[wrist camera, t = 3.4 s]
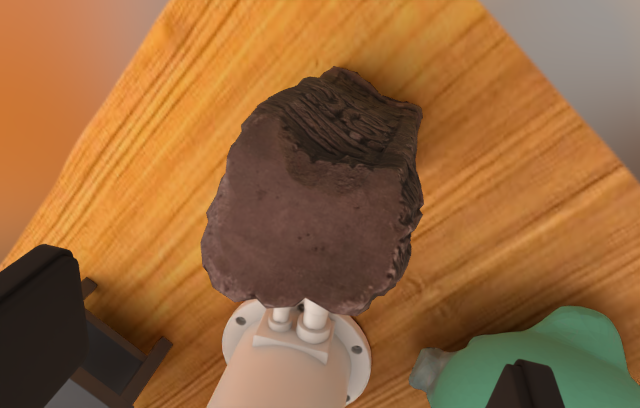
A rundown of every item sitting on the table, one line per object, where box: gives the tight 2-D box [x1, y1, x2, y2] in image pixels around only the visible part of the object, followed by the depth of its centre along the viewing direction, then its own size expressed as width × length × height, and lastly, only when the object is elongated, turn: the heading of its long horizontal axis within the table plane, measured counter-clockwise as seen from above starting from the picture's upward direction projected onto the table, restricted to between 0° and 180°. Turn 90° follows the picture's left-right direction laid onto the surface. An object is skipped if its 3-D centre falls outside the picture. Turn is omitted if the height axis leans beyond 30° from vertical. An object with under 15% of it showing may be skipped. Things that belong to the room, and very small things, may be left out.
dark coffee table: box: [44, 277, 173, 408], centre depth 40 cm, size 14×10×8 cm
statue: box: [201, 66, 424, 316], centre depth 20 cm, size 7×7×20 cm
